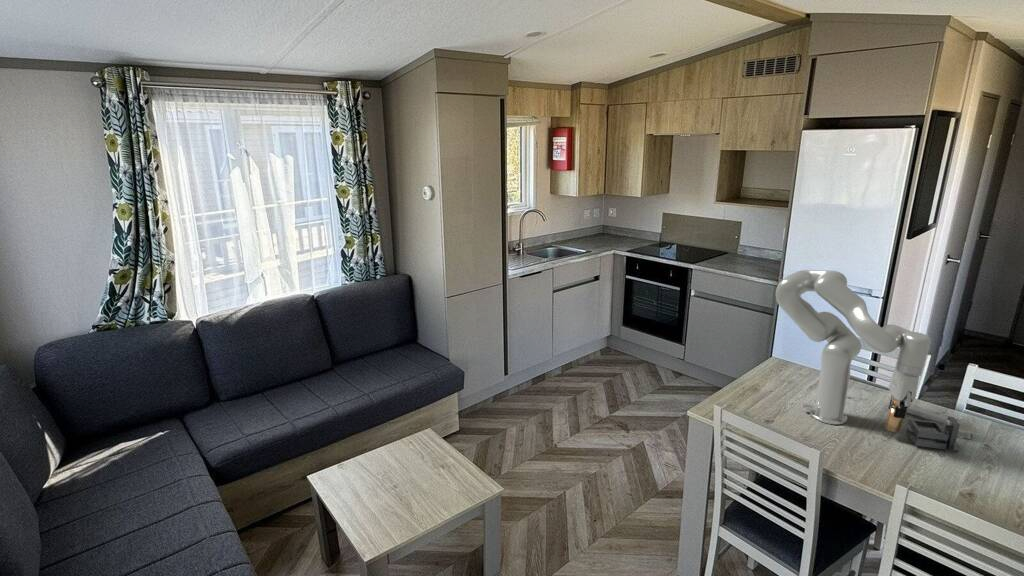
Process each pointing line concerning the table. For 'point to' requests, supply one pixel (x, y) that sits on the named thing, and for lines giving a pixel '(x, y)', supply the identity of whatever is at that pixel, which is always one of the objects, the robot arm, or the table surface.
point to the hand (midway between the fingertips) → (896, 413)
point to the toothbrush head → (943, 420)
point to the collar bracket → (934, 434)
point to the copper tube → (893, 422)
